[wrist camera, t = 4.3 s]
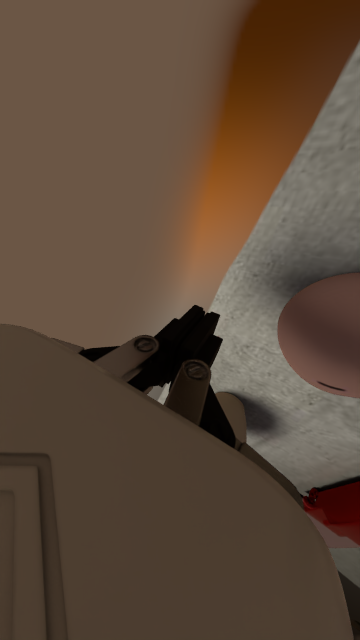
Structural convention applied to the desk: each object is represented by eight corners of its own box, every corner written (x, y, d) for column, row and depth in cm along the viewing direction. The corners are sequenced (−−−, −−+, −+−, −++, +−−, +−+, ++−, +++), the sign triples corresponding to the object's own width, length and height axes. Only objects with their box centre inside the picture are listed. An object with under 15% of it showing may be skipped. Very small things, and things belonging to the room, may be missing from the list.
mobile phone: (327, 550, 33) (249, 491, 36) (326, 542, 34) (250, 485, 37) (366, 550, 28) (273, 482, 31) (364, 541, 29) (273, 476, 32)
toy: (314, 389, 20) (294, 420, 12) (280, 312, 22) (247, 299, 15) (445, 371, 14) (552, 404, 7) (379, 273, 17) (405, 222, 10)
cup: (197, 403, 33) (169, 461, 25) (213, 375, 28) (185, 436, 21) (240, 430, 31) (224, 502, 23) (265, 405, 26) (255, 485, 19)
